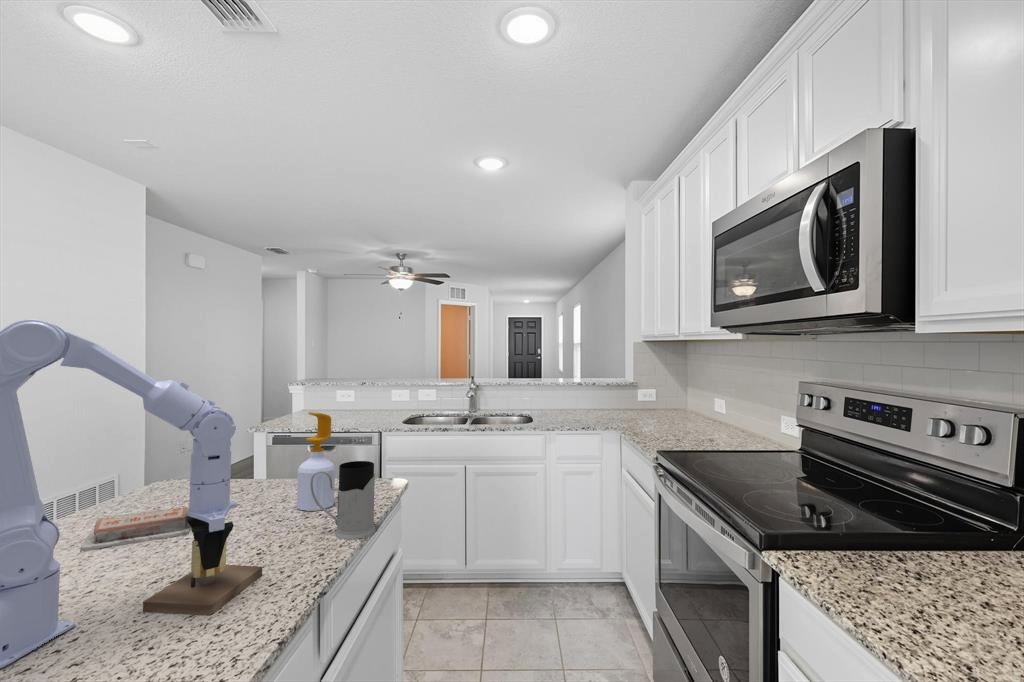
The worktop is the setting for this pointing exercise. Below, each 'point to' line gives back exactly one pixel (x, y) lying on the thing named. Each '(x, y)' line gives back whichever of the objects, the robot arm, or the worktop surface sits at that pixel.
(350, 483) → the glass holder
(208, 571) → the wooden block ring
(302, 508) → the soap bottle
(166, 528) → the packaged product
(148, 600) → the post base
